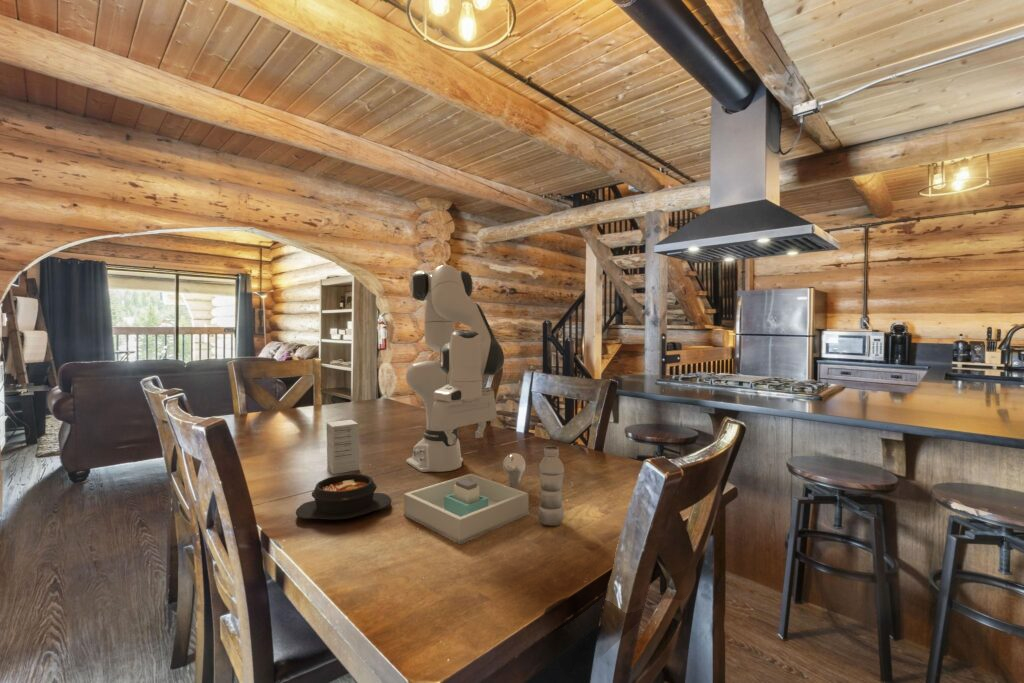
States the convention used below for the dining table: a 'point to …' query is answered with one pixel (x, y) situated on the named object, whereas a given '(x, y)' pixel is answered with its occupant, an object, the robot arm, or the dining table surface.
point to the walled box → (465, 508)
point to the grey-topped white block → (466, 491)
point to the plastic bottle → (551, 488)
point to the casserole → (343, 498)
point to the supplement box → (342, 446)
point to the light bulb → (514, 469)
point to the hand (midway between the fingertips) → (465, 440)
